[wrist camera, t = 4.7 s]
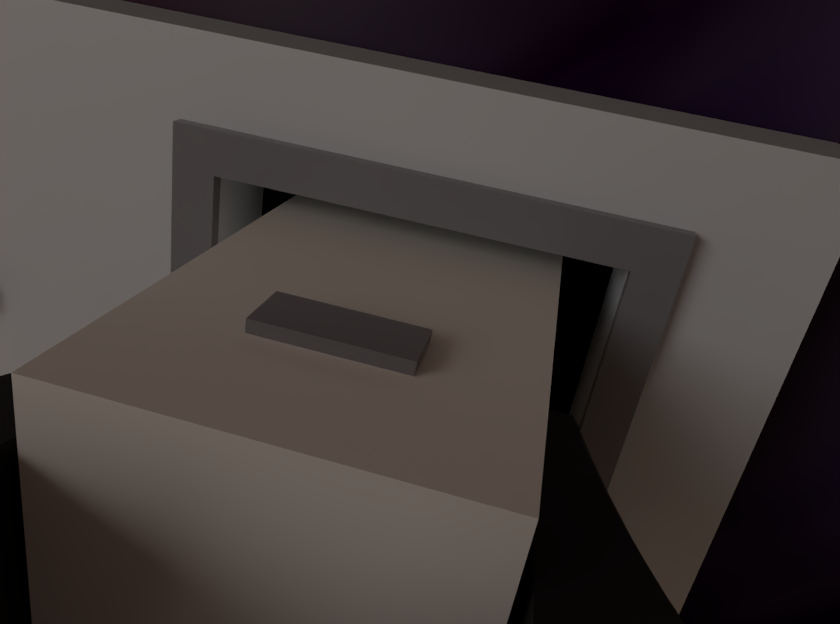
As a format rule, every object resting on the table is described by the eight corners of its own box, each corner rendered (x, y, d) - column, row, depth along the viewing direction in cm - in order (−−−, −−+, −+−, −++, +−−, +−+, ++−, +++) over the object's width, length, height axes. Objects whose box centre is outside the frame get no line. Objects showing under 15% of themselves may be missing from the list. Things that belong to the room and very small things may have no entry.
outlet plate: (604, 701, 14) (606, 787, 12) (-109, 482, 16) (-183, 533, 14) (837, 142, 9) (886, 170, 8) (-217, -67, 11) (-343, -78, 10)
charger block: (503, 474, 12) (434, 860, 6) (278, 413, 12) (40, 724, 7) (565, 242, 10) (544, 501, 5) (302, 182, 11) (9, 355, 5)
